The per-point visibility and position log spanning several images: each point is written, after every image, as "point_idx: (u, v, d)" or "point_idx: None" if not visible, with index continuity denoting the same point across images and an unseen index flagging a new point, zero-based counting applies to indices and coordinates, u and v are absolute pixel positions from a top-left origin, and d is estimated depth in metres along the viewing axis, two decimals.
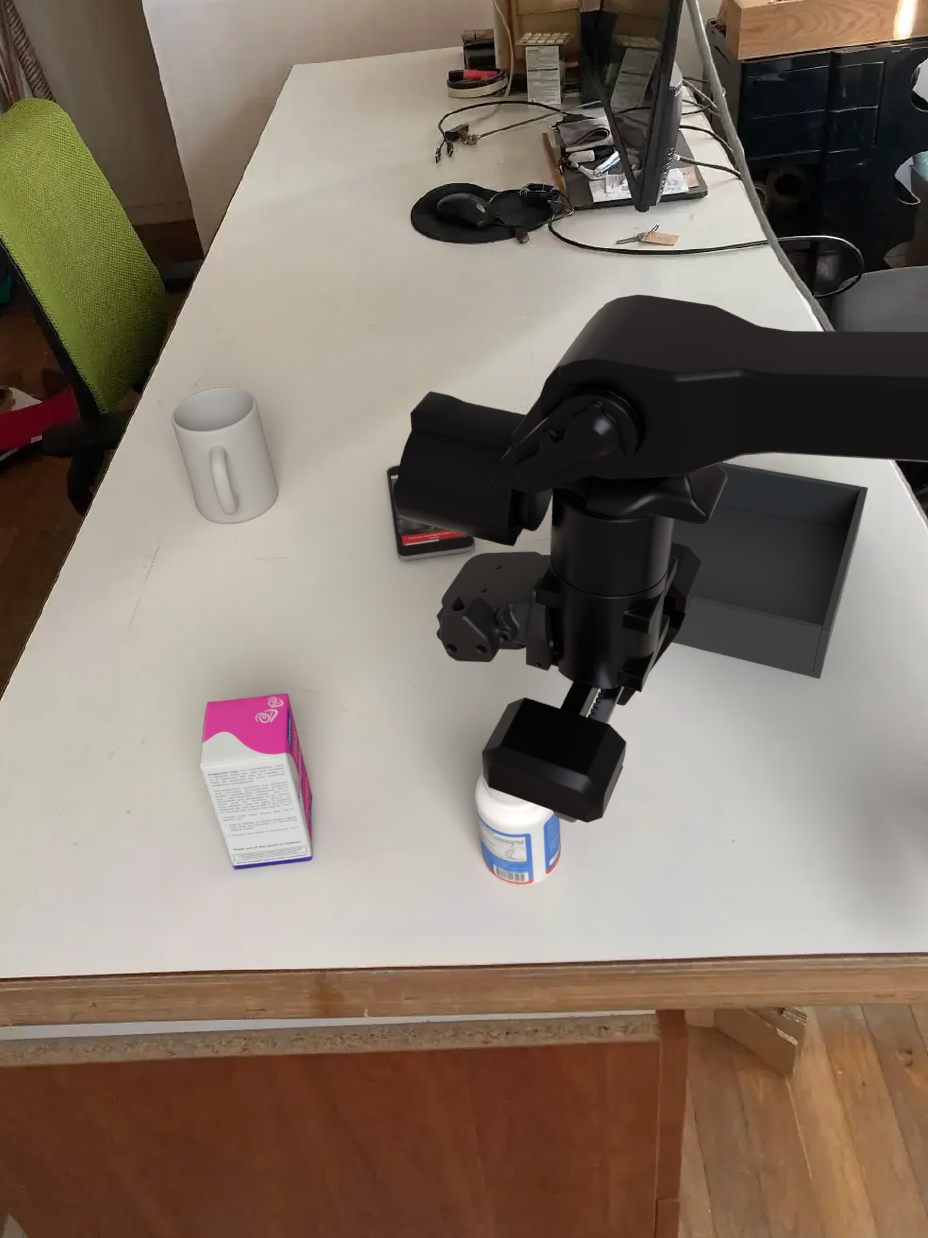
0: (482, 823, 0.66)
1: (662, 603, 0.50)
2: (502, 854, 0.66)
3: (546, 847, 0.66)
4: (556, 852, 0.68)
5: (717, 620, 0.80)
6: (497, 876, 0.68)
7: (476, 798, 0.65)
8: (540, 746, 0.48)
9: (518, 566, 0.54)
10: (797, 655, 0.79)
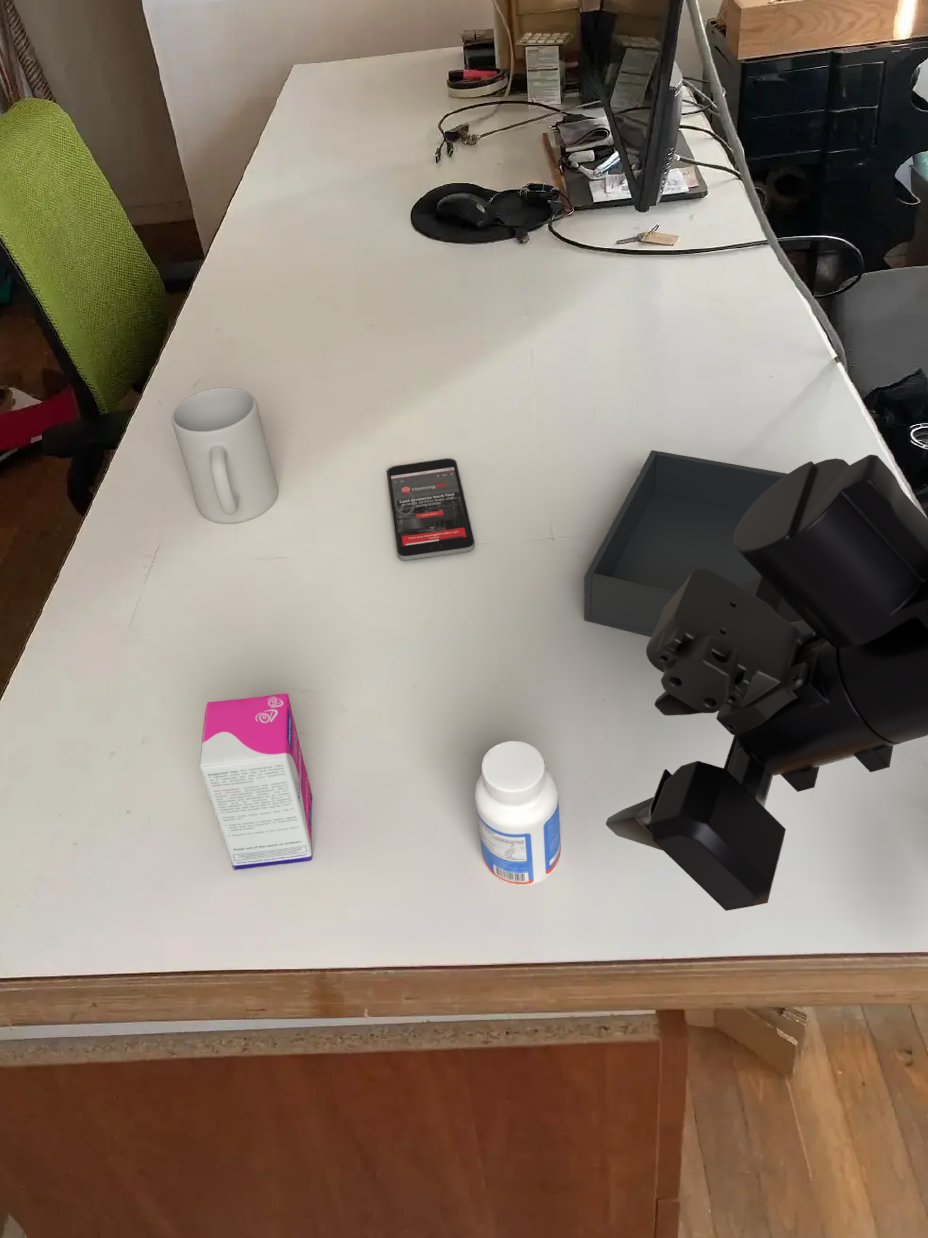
0: (482, 823, 0.66)
1: None
2: (502, 854, 0.66)
3: (546, 847, 0.66)
4: (556, 852, 0.68)
5: None
6: (497, 876, 0.68)
7: (476, 798, 0.65)
8: (737, 837, 0.46)
9: (754, 616, 0.49)
10: None
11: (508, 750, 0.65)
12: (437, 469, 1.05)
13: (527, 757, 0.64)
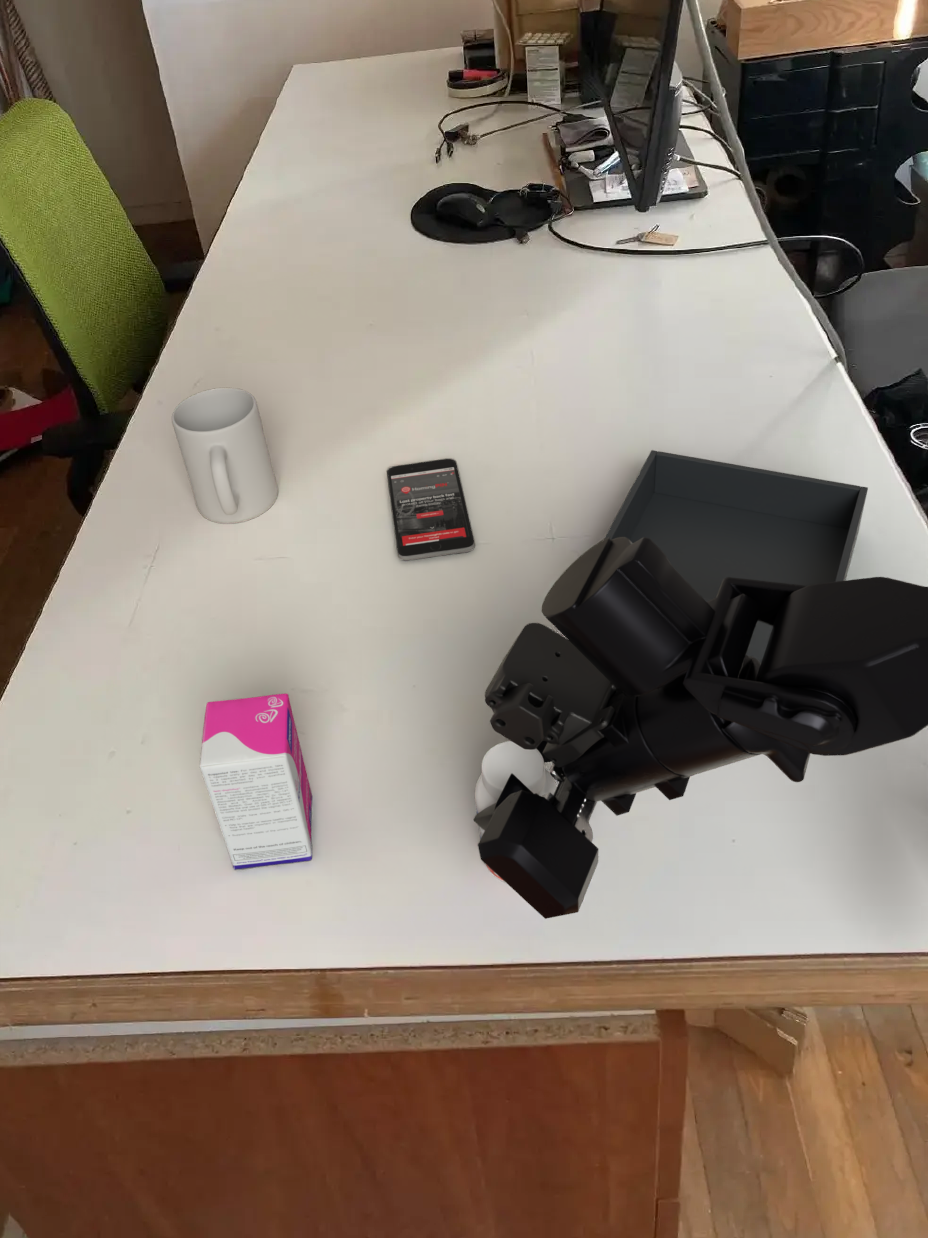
0: None
1: None
2: None
3: None
4: None
5: None
6: (497, 876, 0.68)
7: (476, 798, 0.65)
8: (550, 856, 0.54)
9: (576, 665, 0.57)
10: None
11: (508, 750, 0.65)
12: (437, 469, 1.05)
13: (527, 757, 0.64)
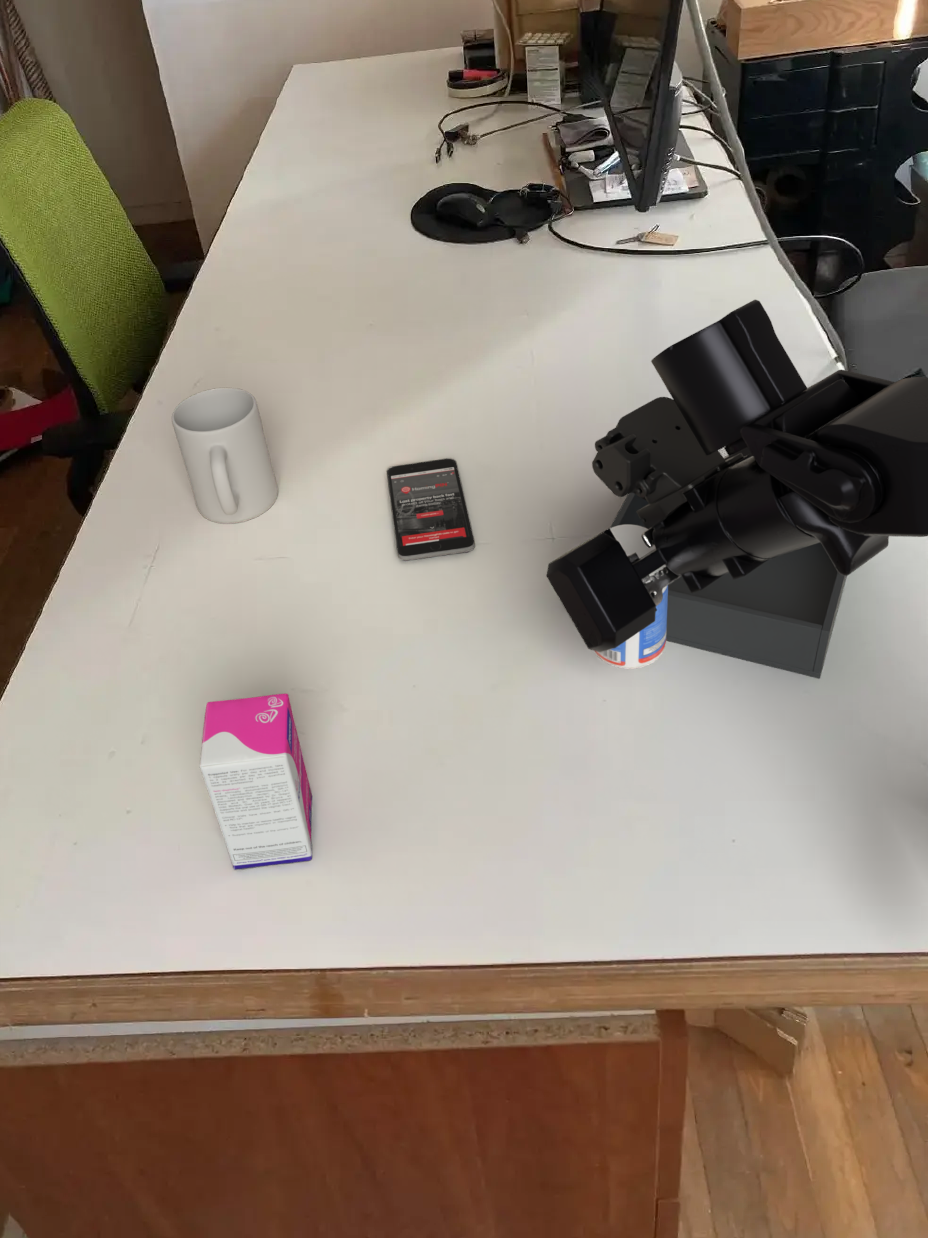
0: None
1: None
2: None
3: (641, 631, 0.70)
4: (654, 645, 0.72)
5: (717, 620, 0.80)
6: (596, 651, 0.74)
7: None
8: (603, 587, 0.59)
9: (691, 441, 0.61)
10: (797, 655, 0.79)
11: (630, 531, 0.70)
12: (437, 469, 1.05)
13: None
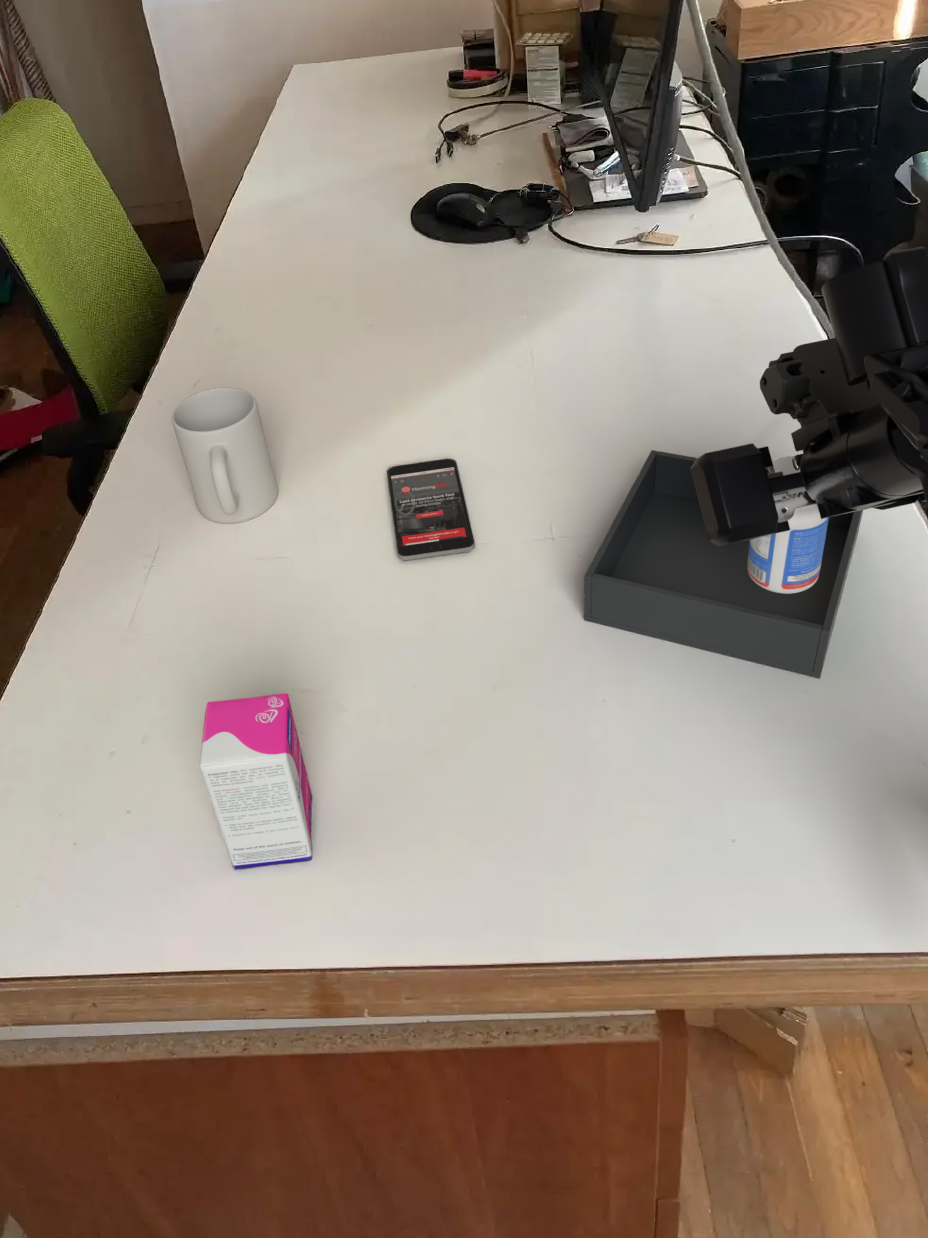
0: None
1: (886, 500, 0.63)
2: (753, 543, 0.78)
3: (787, 557, 0.76)
4: (799, 575, 0.77)
5: (717, 620, 0.80)
6: (748, 569, 0.80)
7: None
8: (731, 487, 0.66)
9: None
10: (797, 655, 0.79)
11: None
12: (437, 469, 1.05)
13: None
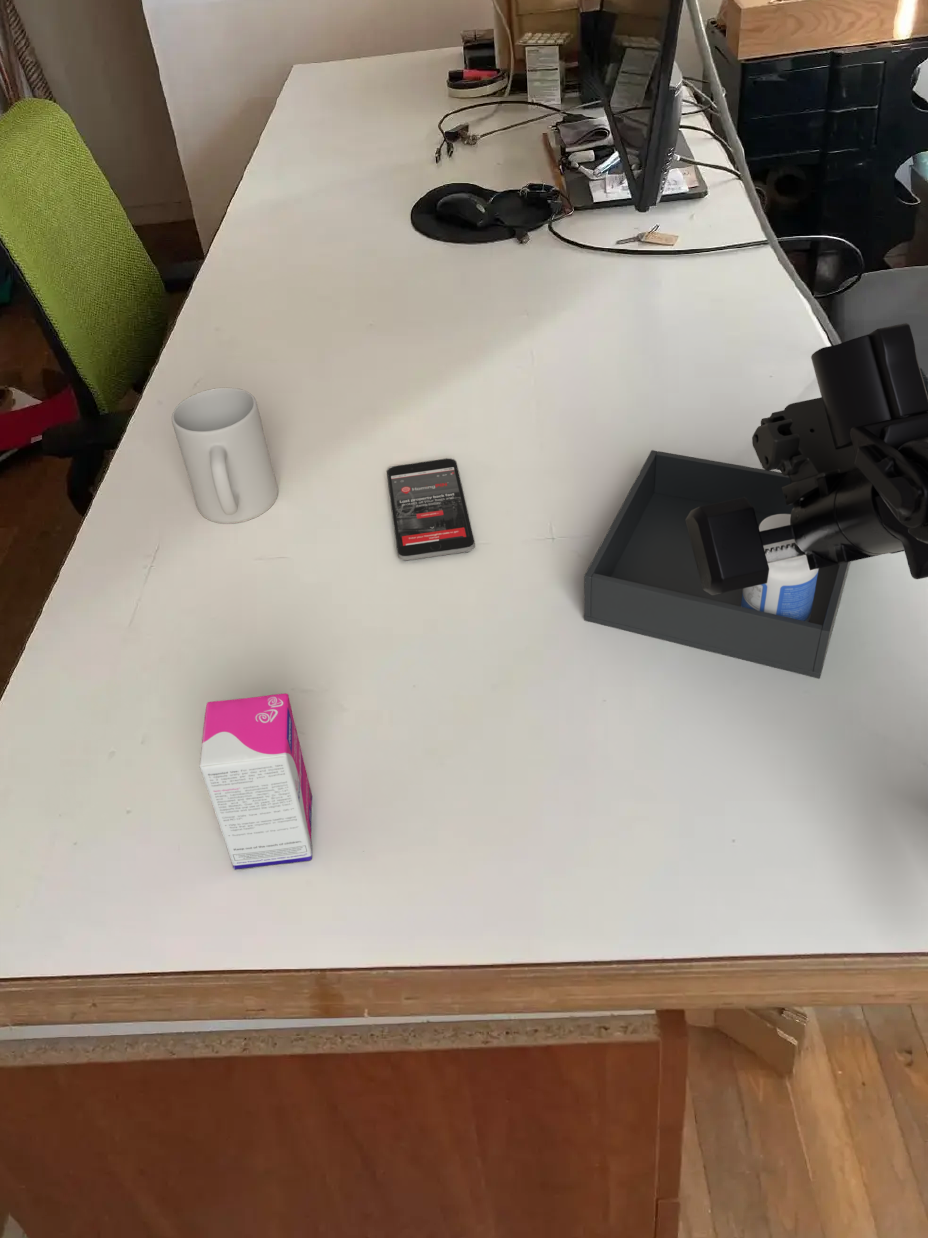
0: None
1: None
2: (746, 595, 0.81)
3: (778, 610, 0.79)
4: None
5: (717, 620, 0.80)
6: None
7: None
8: (724, 540, 0.69)
9: None
10: (797, 655, 0.79)
11: None
12: (437, 469, 1.05)
13: None
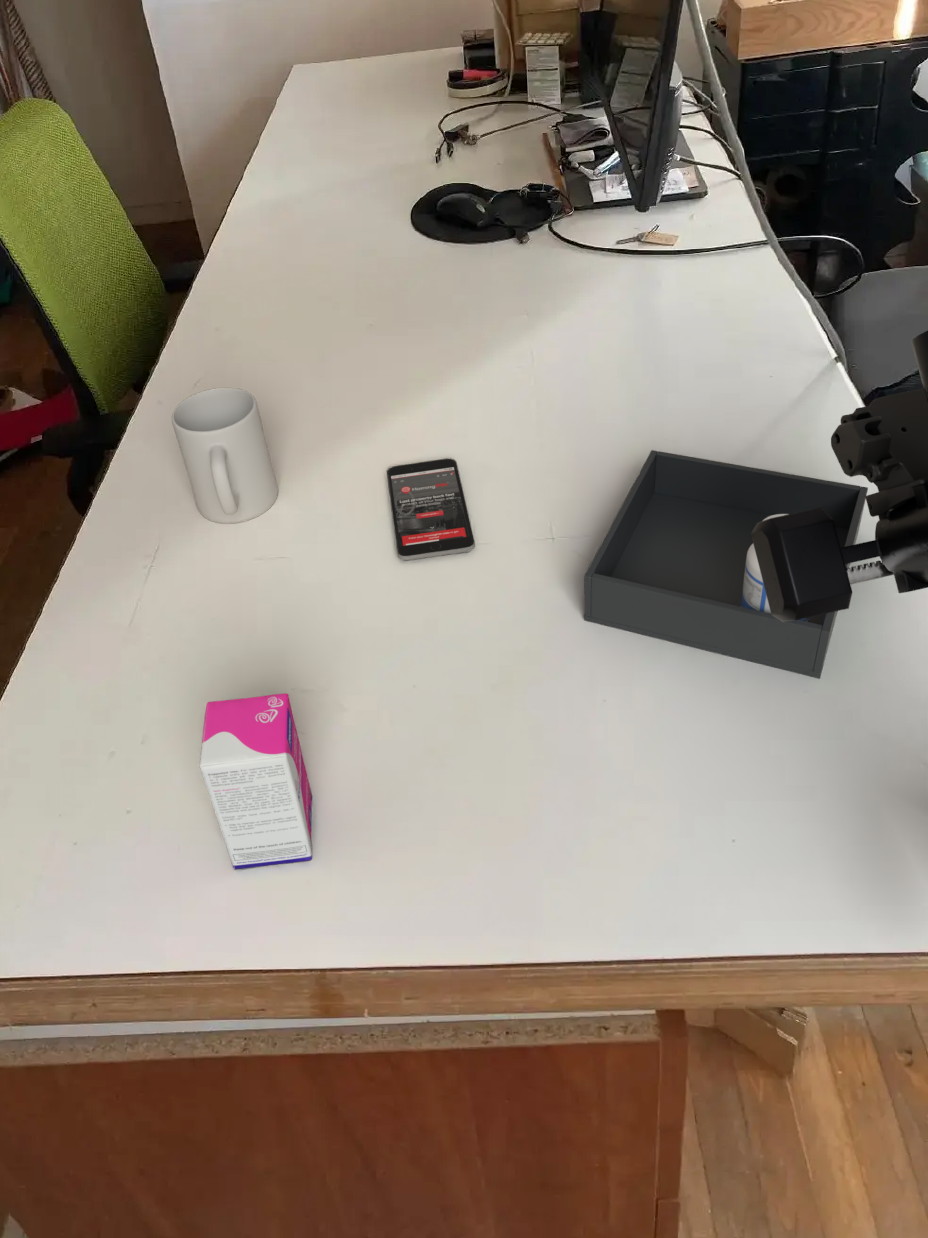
0: None
1: None
2: (746, 595, 0.81)
3: None
4: None
5: (717, 620, 0.80)
6: None
7: None
8: (799, 558, 0.59)
9: None
10: (797, 655, 0.79)
11: None
12: (437, 469, 1.05)
13: None
